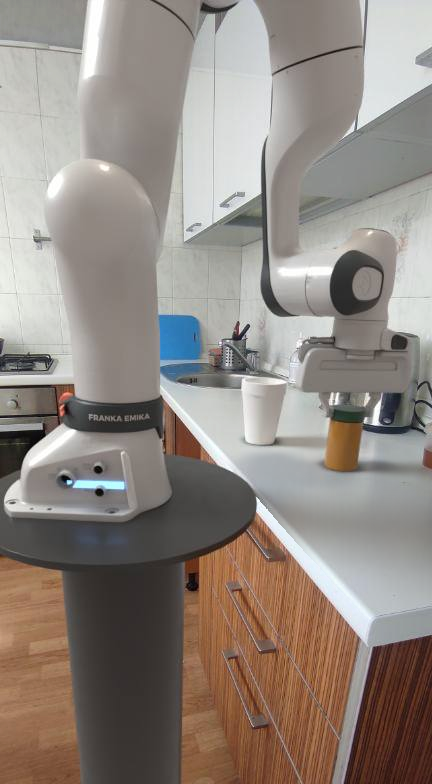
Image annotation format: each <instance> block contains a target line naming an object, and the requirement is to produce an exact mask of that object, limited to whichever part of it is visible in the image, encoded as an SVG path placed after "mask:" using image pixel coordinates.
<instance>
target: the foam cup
mask: <svg viewBox="0 0 432 784" xmlns="http://www.w3.org/2000/svg"><path fill="white" fill-rule="evenodd" d="M287 385H288V382H287V381H286V380H284V379H280V378H277V377H265V376H250V377H244V378H242V379H241V388H240V392H241V394H242V409H243V412H242V413H243V423H244V424H243V425H244V426H243V427H244V437H245V442H247V443H248V444H252V445H256V446H268V445H272V444H274V443H275V440H276V435H277V432H278V427H279V423H280V417H281V415H282V414H281V413H282V409H283V405H284V400H285V396H286V394H287Z"/></svg>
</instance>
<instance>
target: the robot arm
mask: <svg viewBox="0 0 432 784" xmlns="http://www.w3.org/2000/svg"><path fill="white" fill-rule="evenodd" d="M241 1H242V0H87V3H86V11H85V21H84V29H83V38H82V48H81V57H80V64H79V73H78V74H79V75H78V83H77V92H76V93H77V95H76V99H77V110H78V122H79V123H78V124H79V126H78V127H79V159H77V160H74V161H71V162H70V163H68V164H66V165H64V166H63V167H61V169H60V170H58V171H57V173H55V175H54V176H53V178H52V179H51V181H50V182H49V184H48V187H47V190H46V192H45V197H44V202H43V203H44V205H43V212H44V213H43V214H44V219H45V220H44V221H45V225H46V228H47V230H48V234H49V237H50V240H51V243H52V247H53V253H54V254H53V255H54V259H55V264H56V270H57V276H58V281H59V285H60V291H61V295H62V300H63V304H64V309H65V312H66V317H67V322H68V329H69V336H70V346H71V359H72V361H71V362H72V373H73V375H72V376H73V386H74V393H72V392H68V391H67V392H63V394H62V395H61V396H60V398H59V407H58V408H59V409H58V410H59V418H60V422H61V424H59V425H58V426H57V427H55V428H54V429H53V430H52V431H51V432H49V433H48V434H46V436H45V437H43V438H42V439H40V440H39V441H38V442H37V443H36V444H34V445H33V446H32V447H31V448H30V449H29V450H28V451H27V453H26V455H25V456H24V458H23V461H22V464H21V469H20V470H21V478H20V479H19V480H17V481H16V482H15V483H14V484H13V485H12V486H11V487H10V488H9V489H8V491H7V493H6V495H5V498H4V510H5V512H6V513H7V515H9V516H10V517H14V518H32V519H54V520H76V521H98V522H126V521H129V520H131V519H132V518H134V517H135V516H137V515H138V514H140V513H142V512H144V511H147V510H150V509H153V508H156V507H158V506H160V505H162V504H164V503H165V502H167V501H168V500H169V499H170V497H171V495H172V489H171V486H170V483H169V479H168V475H167V471H166V466H165V460H164V454H165V453H164V447H163V437H164V432H165V422H166V421H165V419H166V418H165V416H166V415H165V414H166V413H165V403H164V402H165V401H164V397H163V395H162V394H161V330H160V317H159V316H160V315H159V296H158V295H159V294H158V275H157V273H158V272H157V271H158V270H157V264H158V262H159V260H160V257H161V255H162V251H163V246H164V239H165V234H166V226H167V220H168V214H169V213H168V212H169V208H170V207H169V206H170V199H171V193H172V185H173V177H174V172H175V165H176V155H177V150H178V141H179V134H180V128H181V121H182V117H183V112H184V105H185V99H186V95H187V89H188V84H189V77H190V73H191V72H190V71H191V65H192V60H193V54H194V49H195V44H196V37H197V31H198V25H199V17H200V14H203V15H204V14H205V15H217V14H221V13H225V12H228V11H230V10H232V9H233V8H234V7H236V6H237V5H238V4H239V3H240V2H241ZM360 1H361V0H253V3H254V4H255V5H256V7H257V9H258V11H259V13H260V15H261V18H262V20H263V23H264V26H265V29H266V34H267V37H268V39H267V40H268V52H269V53H268V55H269V64H270V65H269V67H270V76H271V85H272V111H271V118H270V119H271V120H270V126H269V127H270V128H269V131H268V134H267V136H266V137H265V139H264V141H263V145H262V151H261V160H260V161H261V162H260V193H261V194H260V196H261V199H260V200H261V226H262V232H261V233H262V263H261V264H262V265H261V272H260V282H259V286H260V295H261V297H262V300H263V302H264V304H265V306H266V307H267V309H268V310H269V311H270V313H272V314H273V315H274V316H276V317H279V318H293V317H318V318H324V317H325V318H326V317H327V318H334V319H333V324H332V332H331V333H332V334H331V336H319V337H318V336H308V337H307V338H306V339H304V340H303V341H301V342H300V344H299V346H298V352H297V353H298V356H297V357H298V364H297V367H296V368H297V369H296V372H295V373H296V374H295V379H294V385H295V387H296V388H297V390H299V391H300V392H302V393H306V394H308V393H311V394H313V393H315V394H316V393H317V394H318V395H317V397H318V399H319V402H320V403H321V406H322V417H323V418H327V419H330V418H332V417H333V416H334V414H333V413H334V410H335V408H333V407H331V406H332V405H331V406H330V403H329V401H328V400H329V399H331V396H332V395H331V394H335V393H336V394H341V393H342V394H368V397H369V400H368V401H367V402H366V404H365V405H361V406H360V407H363V408H365V409H366V412H365V418H372V417H373V414H374V409H375V408H376V406H377V405H378V403H379V402H380V401H381V400H382V394H403V393H404V392H405V391H407V389H408V387H409V385H410V380H411V375H412V374H411V373H412V362H413V361H412V356H411V354H410V353H409V352H408V351H411V350H412V348H413V345H414V339H413V338H411V337H410V336H407V335H405V334H402V333H400V332H398V331H395V330H392V329H390V328H388V325H389V310H388V309H389V304H390V300H391V298H392V296H393V293H394V287H395V280H396V271H397V259H398V257H397V256H398V255H397V254H398V252H397V250H398V249H397V240H396V236H395V235H393V234H391V233H390V232H389V231H387V230H384V229H377V228H374V227H373V228H371V227H362V228H358V229H354V230H352V231H350V232H349V234H348V236H347V238H346V240H345V241H344V242H342V243H341V244H339V245H336V246H335V247H333V248H327V249H321V250H303V249H302V247H301V246H300V237H299V236H300V193H301V192H300V191H301V186H302V184H303V180H304V178H305V177H306V175H307V173H308V171H309V170H310V169H311V168H312V167H313V165H314V164H315V163H317V161H319V160H320V159H321V158H322V157H323V156H324V155H326V154H327V153H328V152H329V151H331V150H332V149H334V147H335V146H336V145H338V144H339V142H341V141H342V139H343V138H344V137H345V136H346V135H347V133H348V131H349V130H350V129H351V127H352V126H353V124H354V123H355V121H356V119H357V117H358V115H359V112H360V110H361V107H362V105H363V104H362V103H363V97H364V90H365V60H364V59H365V58H364V56H365V55H364V37H363V35H364V34H363V21H362V20H363V19H362V11H361V10H362V9H361V2H360Z"/></svg>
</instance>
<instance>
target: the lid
mask: <svg viewBox="0 0 432 784" xmlns="http://www.w3.org/2000/svg"><path fill="white" fill-rule="evenodd" d="M331 407H333V408H335V410H334V413H333V414H334V416H333V417H332V419H334V420H337V421H343V422H362V421H364V422H365V419H366V417H365V412H366V409H365V408H363V407H361V406H359V405H354V404H344V403H343V404H341V403H340V404H332V405H331Z"/></svg>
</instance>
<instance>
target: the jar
mask: <svg viewBox="0 0 432 784" xmlns="http://www.w3.org/2000/svg"><path fill="white" fill-rule="evenodd" d="M364 423H365V420H364V421H362V422H343V421H337V420H334V419H332V418H329V423H328V432H327V440H326V447H325V454H324V463H323V464H324V465H323V466H324V467H325V468H327V469H329V470H330V469H331V470H333V471H338V472H354V471H356V470H357V469H358V464H359V455H360V449H361V442H362V436H363V431H364Z"/></svg>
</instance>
